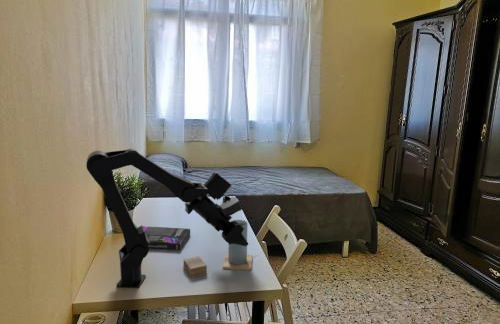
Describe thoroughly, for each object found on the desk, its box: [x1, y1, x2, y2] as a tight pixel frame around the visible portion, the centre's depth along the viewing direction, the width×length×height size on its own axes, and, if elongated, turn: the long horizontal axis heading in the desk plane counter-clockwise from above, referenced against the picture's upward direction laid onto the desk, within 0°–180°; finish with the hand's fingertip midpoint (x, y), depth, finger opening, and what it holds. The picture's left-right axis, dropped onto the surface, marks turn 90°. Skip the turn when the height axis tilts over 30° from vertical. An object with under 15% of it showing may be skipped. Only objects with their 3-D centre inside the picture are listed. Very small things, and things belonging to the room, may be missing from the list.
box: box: [142, 225, 191, 251], centre depth 132 cm, size 14×4×20 cm
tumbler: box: [227, 219, 248, 265], centre depth 115 cm, size 6×6×13 cm
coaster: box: [222, 254, 253, 271], centre depth 116 cm, size 9×9×1 cm
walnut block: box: [183, 256, 208, 278], centre depth 111 cm, size 7×5×3 cm
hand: (241, 239), depth 115 cm, fingers open, 9 cm apart
